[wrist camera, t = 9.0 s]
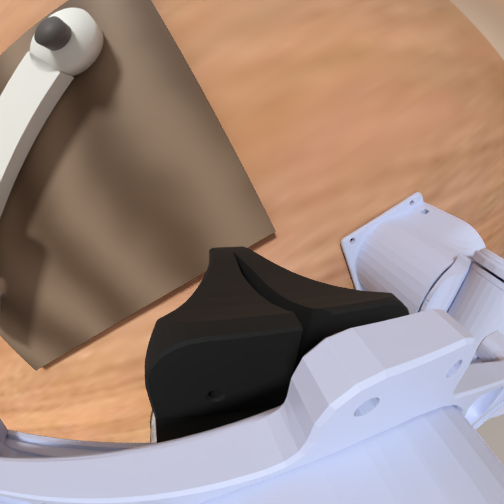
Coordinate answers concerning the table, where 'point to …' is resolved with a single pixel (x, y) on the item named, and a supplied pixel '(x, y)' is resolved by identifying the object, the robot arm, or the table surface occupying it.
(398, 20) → the table surface
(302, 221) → the table surface
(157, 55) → the pivot board
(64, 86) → the pivot bar
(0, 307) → the block
